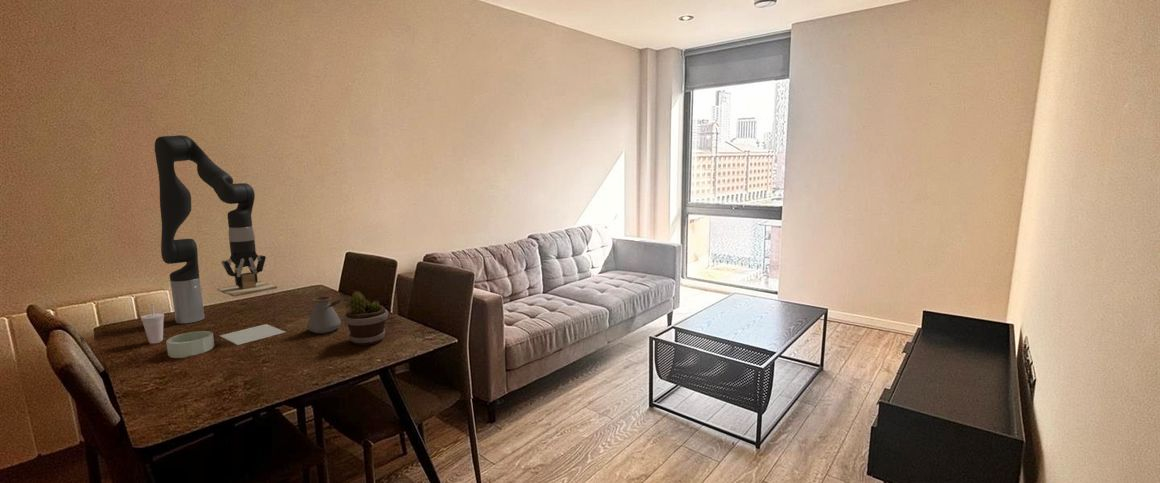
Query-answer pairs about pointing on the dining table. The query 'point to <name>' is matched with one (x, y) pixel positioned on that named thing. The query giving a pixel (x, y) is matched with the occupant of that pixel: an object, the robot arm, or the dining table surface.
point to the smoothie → (153, 326)
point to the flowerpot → (365, 320)
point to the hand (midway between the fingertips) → (246, 285)
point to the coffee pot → (323, 316)
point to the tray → (252, 334)
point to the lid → (247, 286)
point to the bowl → (190, 344)
